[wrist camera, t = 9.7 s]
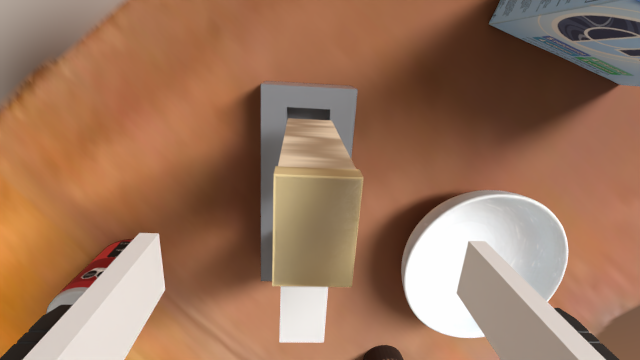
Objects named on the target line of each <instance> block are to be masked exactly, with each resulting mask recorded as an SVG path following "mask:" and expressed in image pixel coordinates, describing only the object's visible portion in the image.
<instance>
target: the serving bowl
mask: <svg viewBox="0 0 640 360" xmlns="http://www.w3.org/2000/svg"><path fill="white" fill-rule="evenodd" d="M468 241H486V242H487V243H488V244H489V245H490V246H491V247H492V248H493V249H494V250H495V251H496V252H497V253H498V254H499V255H500V256H501V257H502V258H503V259H504V260H505V261H506V262H507V263H508V264H509V265H510V266H511V267H512V268H513V269H514V270H515V271H516V272H517V273H518V274H519V275H520V276H521V277H522V278H523V279H524V280H525V281H526V282H527V283H528V284H529V285H530V286H531V287H532V288H533V289H534V290H536V291H537V292H538V293H539V294H540V295H541V296H542V297H543V298H544V299H545V300H546V301H547V302H548V300H549V299H550V298H551V297H552V295H553V294H554V293H555V291H556V289H557V288H558V286H559V284H560V282H561V280H562V278H563V276H564V273H565V270H566V266H567V260H568V243H567V237H566V234H565V231H564V229H563V227H562V225H561V223H560V222H559V220H558V219H557V217H556V216H555V215H554V214H553V213H552V212H551V211H550V210H549V209H548V208H547V207H545V206H544V205H542V204H541V203H539V202H537V201H535V200H533V199H531V198H528V197H525V196H522V195H519V194H515V193H511V192H507V191H499V190H480V191H473V192H468V193H464V194H461V195H458V196H455V197H453V198H451V199H448V200H446V201H445V202H443V203H441V204H439V205H438V206H437V207H435V208H434V209H432V210H431V211H430V212H429V213H428V214H427V215H426V216H425V217H424V218H423V219H422V220H421V221H420V222H419V223H418V225H417V226H416V227H415V229H414V230H413V232H412V233H411V235H410V237H409V239H408V241H407V244H406V246H405V249H404V253H403V258H402V266H401V275H402V283H403V288H404V292H405V296H406V299H407V302H408V304H409V306H410V308H411V310H412V311H413V313H414V314H415V315H416V316H417V318H418V319H419V320H420V321H421V322H423V323H424V324H425V325H426V326H428V327H430V328H431V329H433V330H435V331H437V332H439V333H442V334H445V335H449V336H453V337H460V338H478V337H485V335H484V334H483V332H482V331H481V329H480V328H479V326H478V325H477V323H476V322H475V320H474V319H473V317H472V316H471V314H470V313H469V311H468V310H467V308H466V307H465V305H464V304H463V302H462V301H461V299H460V298H459V296H458V295H457V293H456V292H457V288H458V284H459V279H460V275H461V271H462V267H463V262H464V258H465V254H466V250H467V245H468Z"/></svg>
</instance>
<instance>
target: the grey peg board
mask: <svg viewBox="0 0 640 360" xmlns="http://www.w3.org/2000/svg"><path fill="white" fill-rule="evenodd" d="M357 91H358V89H356V88H354V87H352V86H346V85H329V84H311V83H294V82H276V81H265V82H263V83H262V84H261V281H272V264H273V188H274V171H275V166H278V163H279V159H280V154H281V149H282V144H283V140H284V135H285V130H286V125H287V120H288V118H292V119H312V120H332V122H333V124H334V126H335V128H336V130H337V132H338V134H339V136H340V138H341V140H342V142H343V144H344V146H345V148H346V150H347V152H348V154H349V156H350V158H351V155H352V145H353V134H354V123H355V113H356V102H357Z"/></svg>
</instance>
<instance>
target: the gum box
mask: <svg viewBox="0 0 640 360" xmlns="http://www.w3.org/2000/svg"><path fill="white" fill-rule="evenodd" d="M489 25H491V26H493V27H496V28H498V29H500V30H502V31H504V32H506V33H508V34H511V35H513V36H515V37H517V38H519V39H522V40H524V41H526V42H528V43H530V44H533V45H535V46H537V47H539V48H542V49H544V50H546V51H548V52H551V53H553V54H555V55H557V56H560V57H562V58H564V59H566V60H568V61H570V62H573V63H575V64H577V65H579V66H581V67H583V68H585V69H587V70H589V71H592V72H594V73H596V74H598V75H600V76H603V77H605V78H607V79H609V80H611V81H613V82H615V83H617V84H619V85H629V86H640V0H500V2H499V4H498V6H497V8H496V10H495V12H494V14H493V16H492V18H491V20H490V22H489Z"/></svg>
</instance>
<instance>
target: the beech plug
mask: <svg viewBox="0 0 640 360" xmlns="http://www.w3.org/2000/svg"><path fill="white" fill-rule="evenodd" d="M363 178H364V177H363V176H362V174H361V172H360V170H358V169H356V168H355V166H354V164H353V162H352V160H351V158H350V156H349V154H348V152H347V150H346V148H345V146H344V144H343V142H342V140H341V138H340V136H339V134H338V132H337V130H336V128H335V126H334V124H333V122H332V120H312V119H292V118H288V120H287V125H286V130H285V135H284V140H283V144H282V149H281V154H280V159H279V163H278V166H275V171H274V188H273V264H272V286H307V287H352V279H353V270H354V261H355V251H356V242H357V233H358V224H359V215H360V205H361V196H362V187H363Z"/></svg>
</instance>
